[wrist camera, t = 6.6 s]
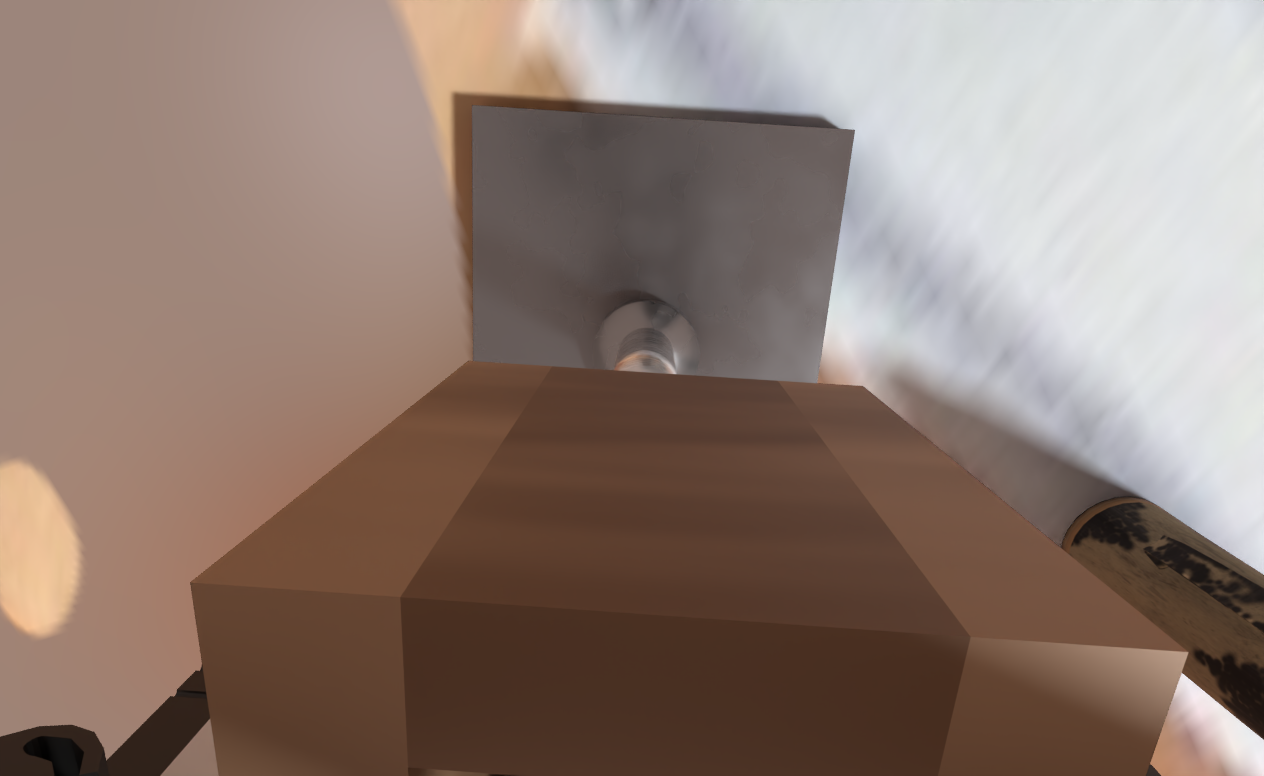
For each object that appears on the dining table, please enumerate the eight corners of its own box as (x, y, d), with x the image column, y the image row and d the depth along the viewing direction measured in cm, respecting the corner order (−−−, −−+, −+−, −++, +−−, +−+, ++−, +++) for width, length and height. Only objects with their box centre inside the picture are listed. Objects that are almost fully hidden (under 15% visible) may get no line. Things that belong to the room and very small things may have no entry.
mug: (1195, 553, 32) (1499, 744, 21) (1099, 614, 33) (1336, 828, 22) (1112, 443, 31) (1390, 584, 19) (1015, 511, 32) (1221, 682, 20)
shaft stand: (479, 109, 28) (376, 49, 17) (846, 133, 27) (963, 86, 17) (480, 522, 33) (402, 663, 23) (786, 544, 33) (847, 697, 22)
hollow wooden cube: (468, 361, 11) (190, 582, 4) (862, 386, 11) (1187, 652, 4) (472, 688, 13) (280, 1194, 6) (810, 712, 13) (980, 1253, 6)
